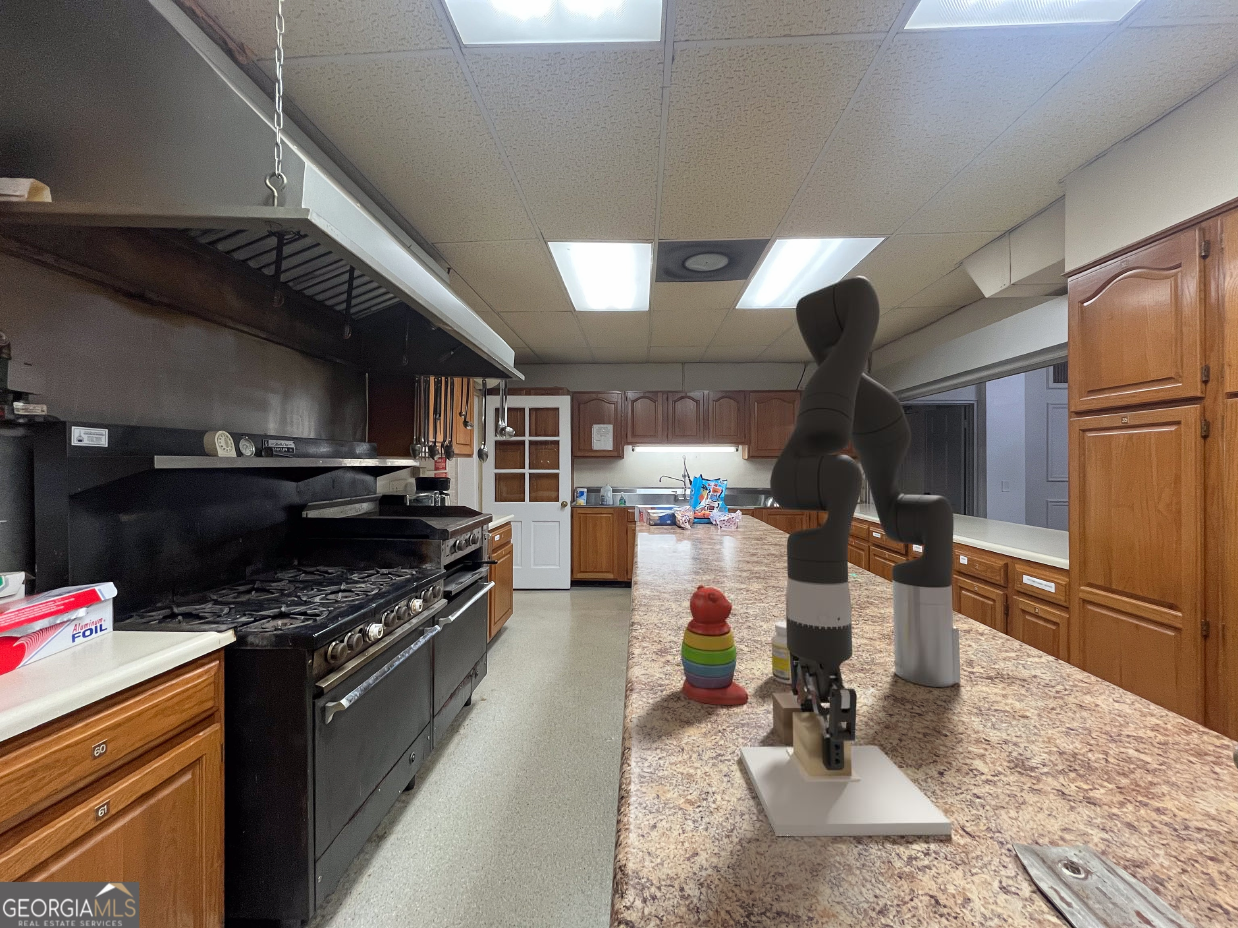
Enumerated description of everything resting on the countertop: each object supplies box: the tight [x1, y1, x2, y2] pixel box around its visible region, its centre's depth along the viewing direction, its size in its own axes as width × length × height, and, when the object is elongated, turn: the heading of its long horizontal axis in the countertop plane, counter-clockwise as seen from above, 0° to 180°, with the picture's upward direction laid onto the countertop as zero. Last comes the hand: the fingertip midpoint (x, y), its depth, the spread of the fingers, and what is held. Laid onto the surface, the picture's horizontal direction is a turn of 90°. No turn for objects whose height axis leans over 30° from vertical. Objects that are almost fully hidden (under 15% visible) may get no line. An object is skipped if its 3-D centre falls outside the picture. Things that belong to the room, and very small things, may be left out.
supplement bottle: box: [771, 621, 792, 685], centre depth 86 cm, size 5×5×10 cm
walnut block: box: [771, 692, 801, 745], centre depth 67 cm, size 4×4×5 cm
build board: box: [739, 745, 953, 837], centre depth 55 cm, size 18×14×1 cm
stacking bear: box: [680, 584, 749, 706], centre depth 81 cm, size 11×10×18 cm
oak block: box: [792, 712, 852, 776], centre depth 58 cm, size 5×5×5 cm
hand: (821, 751), depth 58 cm, fingers open, 6 cm apart
